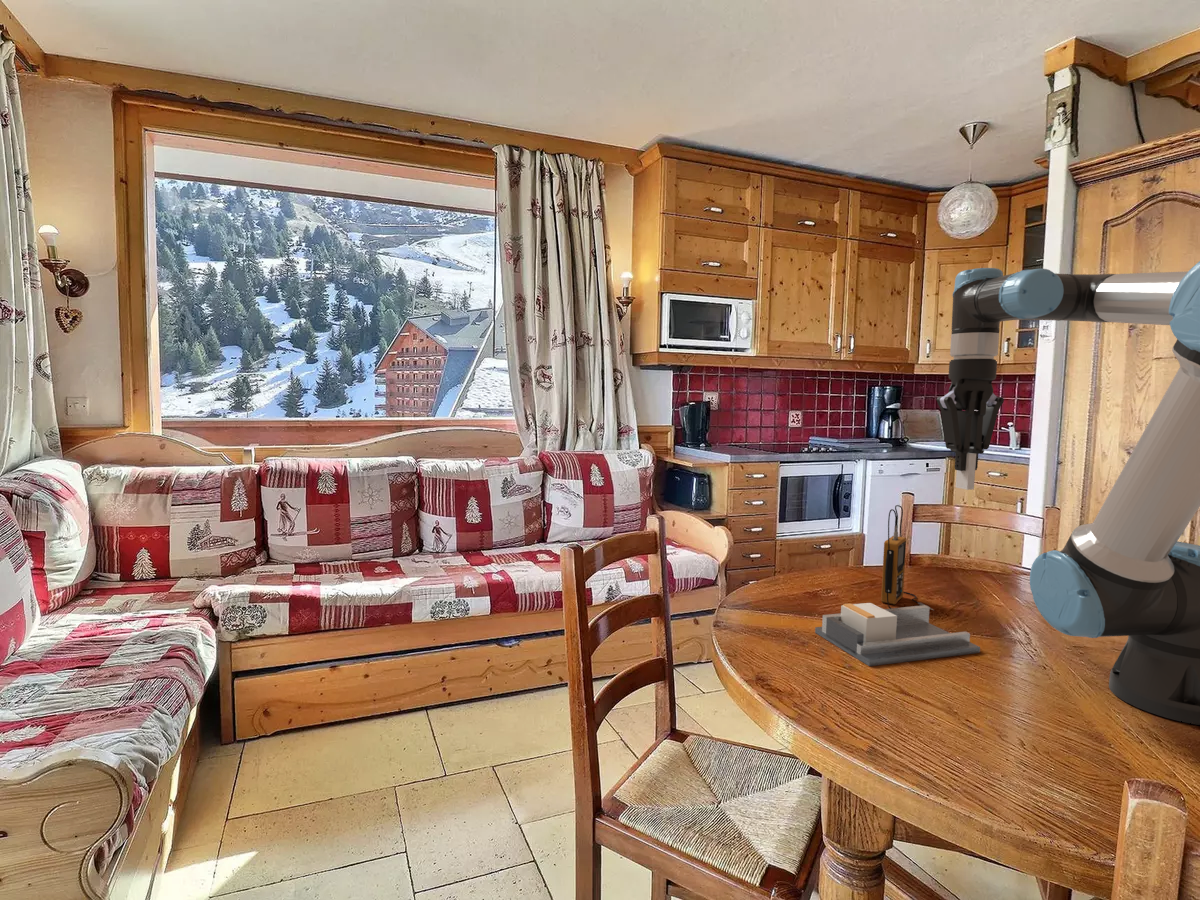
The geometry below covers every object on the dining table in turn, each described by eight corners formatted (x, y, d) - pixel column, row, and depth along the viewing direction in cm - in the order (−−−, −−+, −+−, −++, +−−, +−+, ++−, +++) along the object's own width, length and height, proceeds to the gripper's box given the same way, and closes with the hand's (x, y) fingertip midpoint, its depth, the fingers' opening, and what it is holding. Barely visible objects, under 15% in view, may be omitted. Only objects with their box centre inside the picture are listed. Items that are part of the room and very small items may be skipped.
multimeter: (929, 618, 130) (935, 517, 128) (875, 607, 136) (880, 510, 134) (944, 599, 141) (949, 506, 139) (894, 590, 147) (898, 501, 145)
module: (895, 644, 114) (897, 614, 113) (865, 647, 112) (866, 617, 112) (868, 629, 121) (870, 601, 120) (839, 632, 119) (841, 603, 119)
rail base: (979, 652, 113) (981, 629, 113) (869, 666, 107) (870, 642, 107) (915, 622, 128) (916, 601, 127) (815, 632, 122) (815, 611, 121)
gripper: (985, 359, 125) (976, 484, 127) (927, 358, 122) (919, 486, 124) (1020, 358, 118) (1010, 490, 120) (960, 356, 114) (951, 492, 117)
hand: (964, 488), depth 122 cm, fingers closed
